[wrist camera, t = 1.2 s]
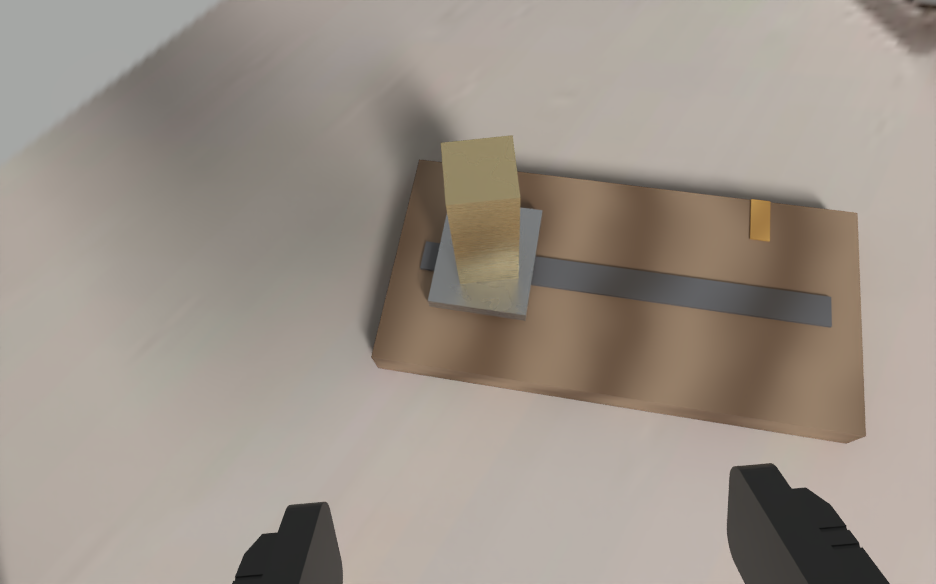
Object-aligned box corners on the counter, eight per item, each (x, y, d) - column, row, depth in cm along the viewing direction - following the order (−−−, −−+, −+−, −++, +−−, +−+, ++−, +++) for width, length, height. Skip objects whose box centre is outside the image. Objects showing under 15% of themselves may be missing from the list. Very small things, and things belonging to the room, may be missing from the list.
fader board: (378, 367, 36) (370, 355, 34) (423, 178, 41) (418, 157, 39) (846, 443, 33) (868, 435, 31) (840, 230, 38) (859, 211, 36)
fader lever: (429, 306, 35) (404, 226, 27) (451, 205, 37) (434, 103, 29) (525, 320, 34) (529, 243, 26) (541, 217, 36) (550, 116, 28)
